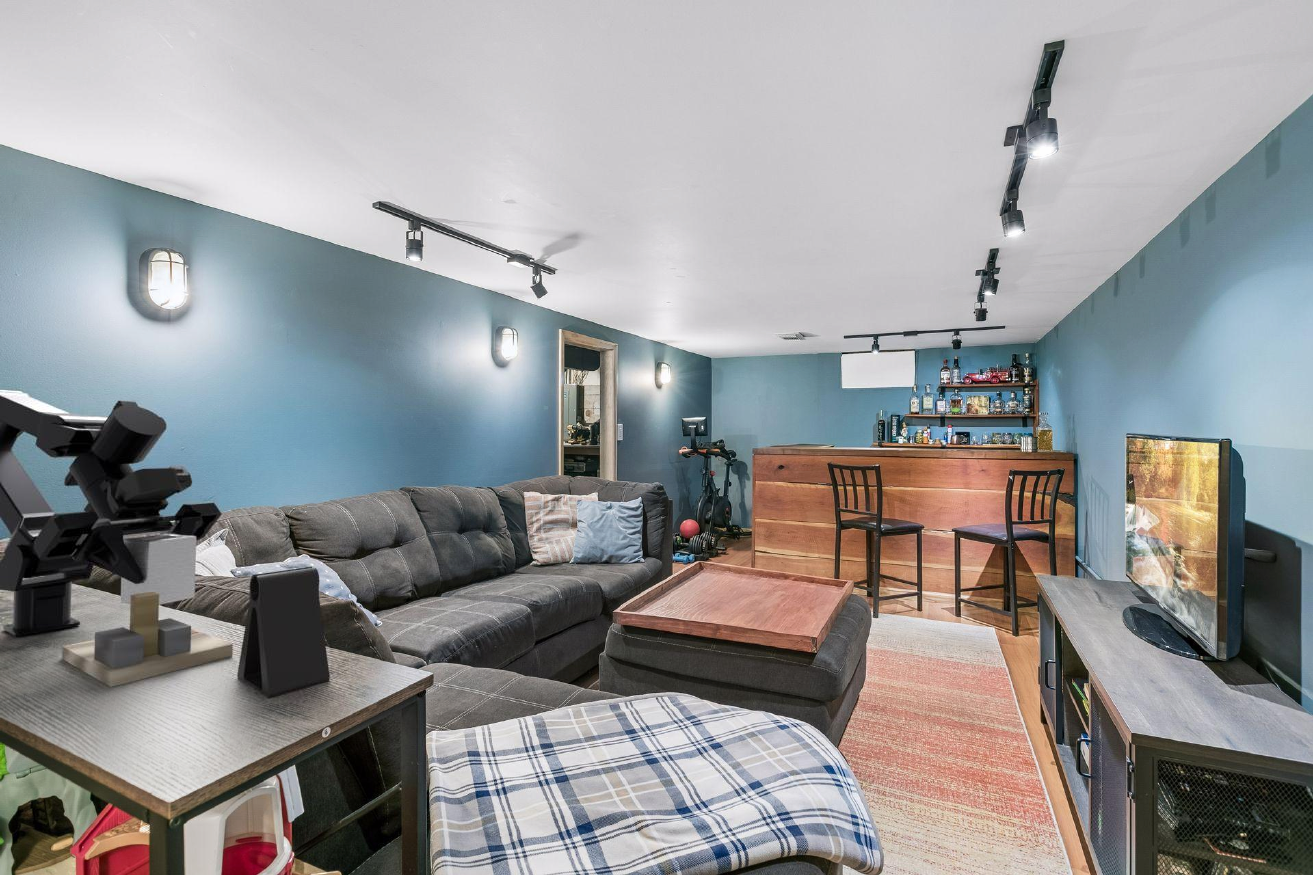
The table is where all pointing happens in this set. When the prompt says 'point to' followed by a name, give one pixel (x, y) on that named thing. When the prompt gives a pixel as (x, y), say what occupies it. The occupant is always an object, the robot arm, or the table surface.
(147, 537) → the steel sleeve
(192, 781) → the table surface
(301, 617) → the phone stand
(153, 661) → the board
